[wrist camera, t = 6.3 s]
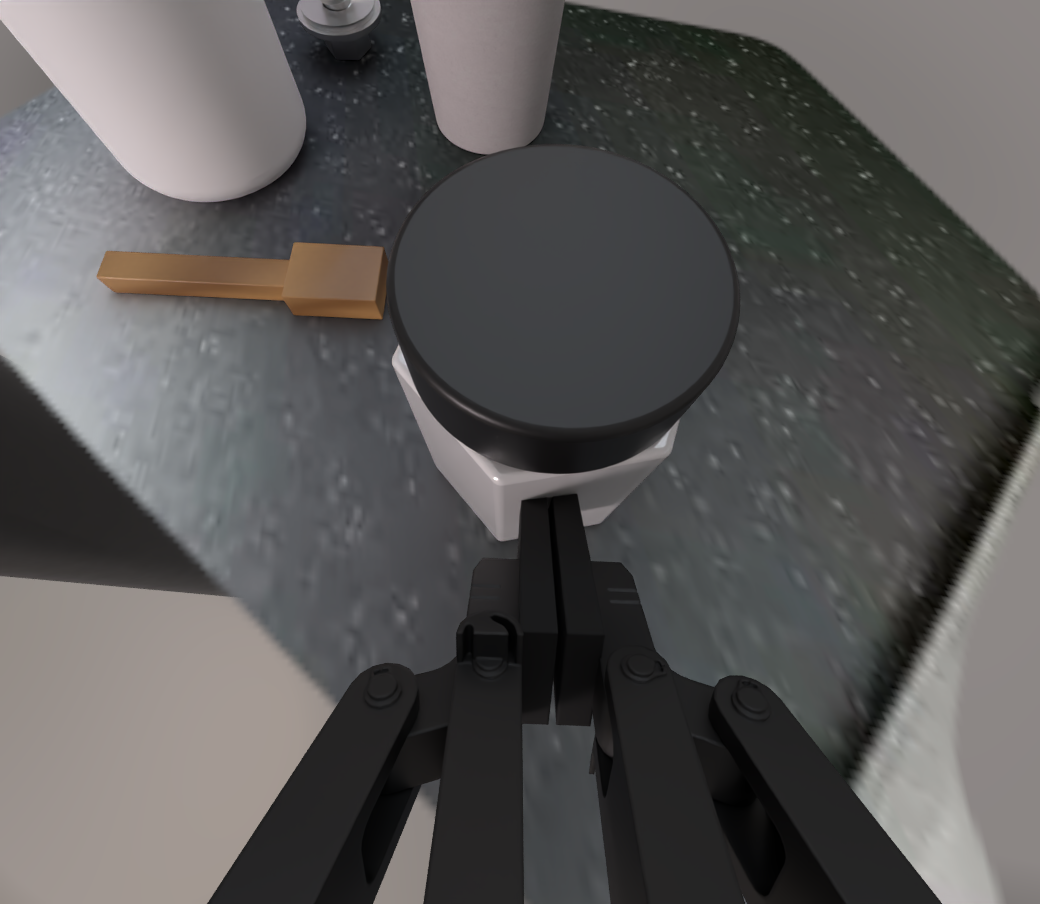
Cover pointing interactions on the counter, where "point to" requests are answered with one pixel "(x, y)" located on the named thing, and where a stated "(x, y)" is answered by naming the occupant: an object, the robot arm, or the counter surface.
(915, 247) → the counter surface
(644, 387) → the jar
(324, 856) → the robot arm
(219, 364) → the counter surface
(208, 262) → the brown wooden bar
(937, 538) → the counter surface
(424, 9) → the coffee cup
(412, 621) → the counter surface
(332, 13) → the screw
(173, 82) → the cup
